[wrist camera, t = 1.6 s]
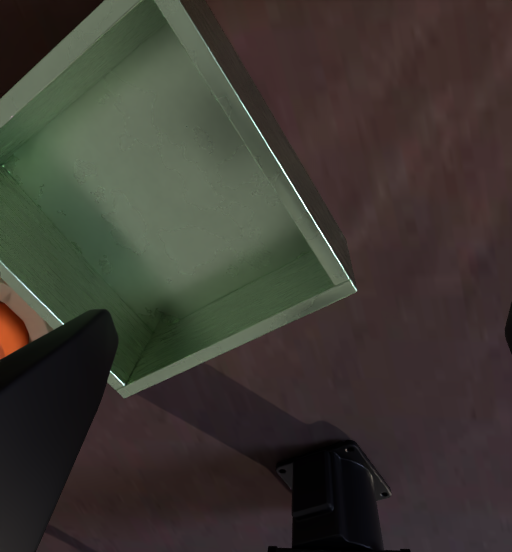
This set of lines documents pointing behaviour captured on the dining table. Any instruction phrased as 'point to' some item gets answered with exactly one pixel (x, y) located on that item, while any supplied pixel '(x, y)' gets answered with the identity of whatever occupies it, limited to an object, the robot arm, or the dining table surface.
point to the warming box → (159, 193)
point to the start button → (11, 331)
